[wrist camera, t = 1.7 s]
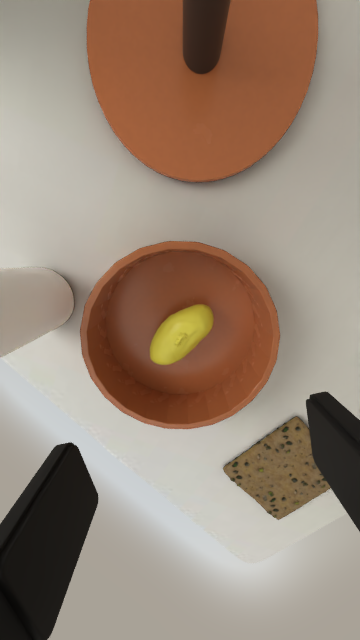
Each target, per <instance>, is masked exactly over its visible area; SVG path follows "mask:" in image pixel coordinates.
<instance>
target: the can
mask: <svg viewBox="0 0 360 640" xmlns="http://www.w3.org/2000/svg"><path fill="white" fill-rule="evenodd" d="M73 308H74V297H73V293H72V290H71V288H70V286H69V285H68V283H67V282H66V281H65V279H64V278H63V277H61V276H60V275H59V274H58V273H56V272H54V271H52V270H50V269H46V268H41V267H27V268H1V269H0V358H1V357H3V356H5V355H7V354H9V353H11V352H13V351H15V350H16V349H18V348H20V347H22V346H24V345H26V344H28V343H30V342H31V341H33V340H35V339H37V338H39V337H41V336H43V335H44V334H46V333H48V332H50V331H52V330H54V329H56V328H57V327H59V326H61V325H62V324H64V323H65V322H66V321H67V320H68V319H69V317H70V316H71V314H72V312H73Z"/></svg>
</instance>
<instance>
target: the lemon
mask: <svg viewBox="0 0 360 640" xmlns="http://www.w3.org/2000/svg"><path fill="white" fill-rule="evenodd" d="M213 322H214V317H213V312H212V310H211V308H210V307H209V306H207V305H204V304H197V305H193V306H190V307H188V308H186V309H183V310H180V311H178V312H176V313H175V314H172V315H171V316H169V317H168V318H167V319H166V320H165V321H164V322H163V323H162V324H161V325H160V327H159V328H158V330H157V331H156V333H155V335H154V337H153V339H152V342H151V345H150V358H151V360H152V361H153V362H154V363H156V364H160V365H169V364H172V363H175V362H177V361H179V360H181V359H182V358H184V357H185V356H186V355H187V354H188V353H189V352H190V351H191V350H193V349H194V348H195V347H196V346H197V344H198V343H199V342H200V341H201V340H202V339H203V338H204V337H206V336H207V335H208V333H209V332H210V330H211V329H212V326H213Z"/></svg>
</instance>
